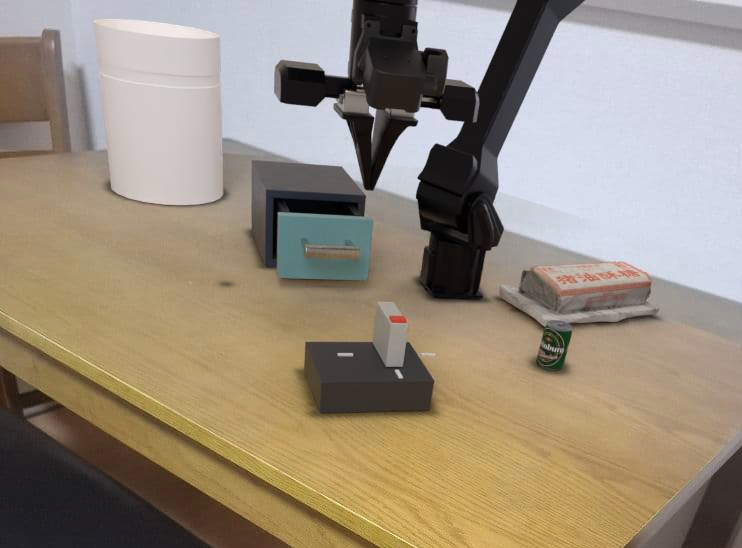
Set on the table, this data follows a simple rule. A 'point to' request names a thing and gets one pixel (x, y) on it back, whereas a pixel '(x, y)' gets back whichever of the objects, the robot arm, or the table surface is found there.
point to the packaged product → (582, 292)
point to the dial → (390, 334)
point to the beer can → (554, 345)
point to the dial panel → (365, 379)
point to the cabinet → (295, 194)
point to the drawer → (321, 240)
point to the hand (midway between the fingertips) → (368, 189)
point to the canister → (161, 110)
